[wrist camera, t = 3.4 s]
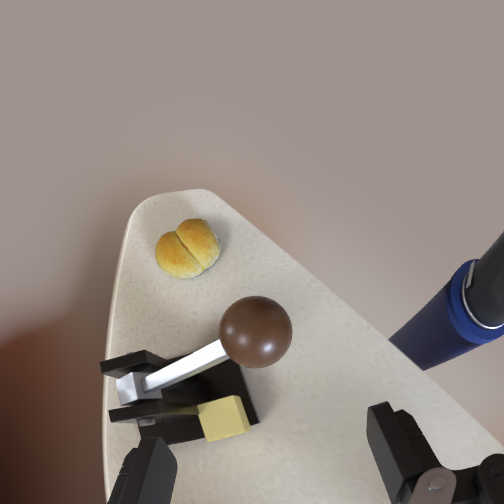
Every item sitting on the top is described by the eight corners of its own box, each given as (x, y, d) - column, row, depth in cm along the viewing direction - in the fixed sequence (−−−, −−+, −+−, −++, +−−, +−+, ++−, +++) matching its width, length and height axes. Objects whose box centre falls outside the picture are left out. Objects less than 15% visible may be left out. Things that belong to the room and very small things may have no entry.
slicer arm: (289, 289, 18) (251, 275, 14) (314, 350, 15) (279, 350, 12) (144, 371, 23) (105, 369, 20) (154, 414, 21) (114, 416, 18)
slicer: (232, 342, 33) (195, 300, 21) (260, 422, 28) (235, 431, 16) (130, 373, 33) (57, 345, 21) (148, 447, 27) (74, 455, 16)
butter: (239, 396, 29) (233, 394, 26) (251, 429, 27) (246, 432, 24) (205, 406, 29) (195, 405, 26) (216, 439, 26) (206, 442, 23)
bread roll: (152, 251, 42) (141, 236, 38) (204, 219, 43) (196, 201, 40) (174, 294, 37) (162, 281, 34) (232, 258, 39) (225, 242, 36)
